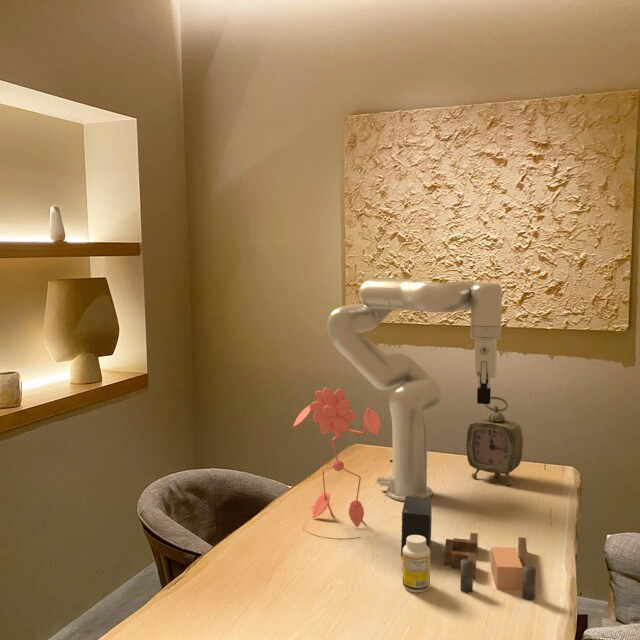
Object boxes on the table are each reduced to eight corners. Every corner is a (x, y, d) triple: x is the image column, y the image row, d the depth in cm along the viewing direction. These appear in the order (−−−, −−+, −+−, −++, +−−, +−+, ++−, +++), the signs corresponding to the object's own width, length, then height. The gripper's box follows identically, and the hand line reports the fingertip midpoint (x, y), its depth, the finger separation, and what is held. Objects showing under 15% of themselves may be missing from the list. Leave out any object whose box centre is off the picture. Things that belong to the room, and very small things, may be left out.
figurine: (306, 504, 184) (303, 377, 180) (392, 526, 170) (391, 388, 166) (271, 525, 172) (267, 389, 167) (361, 550, 157) (359, 401, 153)
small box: (430, 559, 152) (430, 514, 151) (400, 557, 153) (400, 512, 152) (432, 539, 162) (432, 497, 161) (404, 537, 163) (404, 495, 162)
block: (496, 590, 138) (497, 566, 138) (490, 569, 147) (491, 547, 147) (522, 591, 138) (522, 567, 137) (514, 570, 147) (515, 548, 146)
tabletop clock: (465, 479, 204) (467, 396, 201) (477, 470, 211) (478, 391, 208) (513, 488, 195) (515, 402, 193) (524, 479, 203) (526, 396, 200)
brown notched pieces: (439, 589, 138) (439, 561, 138) (447, 543, 160) (447, 518, 159) (535, 601, 134) (536, 571, 133) (530, 552, 155) (531, 526, 154)
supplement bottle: (411, 577, 144) (412, 530, 143) (435, 585, 140) (435, 537, 139) (397, 587, 139) (397, 539, 138) (420, 596, 136) (420, 547, 135)
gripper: (500, 336, 165) (498, 411, 167) (501, 329, 180) (499, 397, 182) (468, 335, 167) (466, 409, 169) (472, 328, 182) (470, 396, 184)
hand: (483, 403), depth 176 cm, fingers closed
